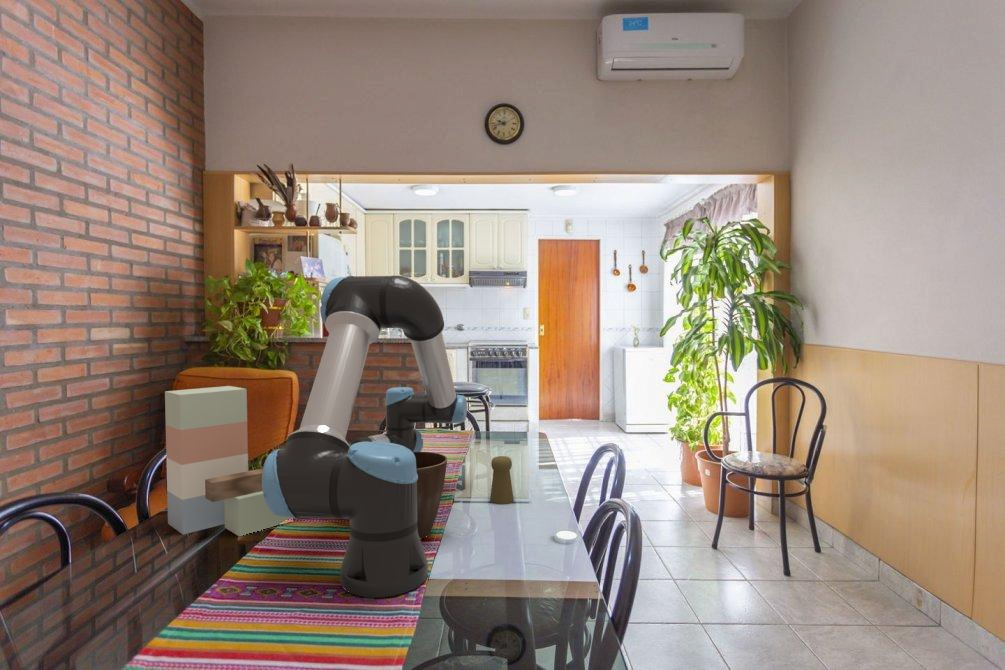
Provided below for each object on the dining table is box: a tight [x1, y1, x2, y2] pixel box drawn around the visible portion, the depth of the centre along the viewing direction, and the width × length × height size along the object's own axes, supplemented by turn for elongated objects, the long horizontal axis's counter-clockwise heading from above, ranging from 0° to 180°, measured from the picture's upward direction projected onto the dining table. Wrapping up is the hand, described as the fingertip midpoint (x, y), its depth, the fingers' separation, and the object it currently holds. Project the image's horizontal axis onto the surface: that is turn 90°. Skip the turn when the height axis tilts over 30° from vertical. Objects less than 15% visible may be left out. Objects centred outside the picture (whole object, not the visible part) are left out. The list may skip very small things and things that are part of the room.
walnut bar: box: [205, 467, 263, 502], centre depth 128 cm, size 26×4×4 cm, turn 137°
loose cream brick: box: [224, 491, 293, 537], centre depth 126 cm, size 12×8×8 cm, turn 137°
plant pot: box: [413, 451, 448, 539], centre depth 119 cm, size 15×15×16 cm
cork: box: [489, 455, 515, 505], centre depth 142 cm, size 6×6×11 cm
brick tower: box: [164, 385, 249, 535], centre depth 129 cm, size 14×10×30 cm
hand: (284, 468), depth 130 cm, fingers open, 6 cm apart
